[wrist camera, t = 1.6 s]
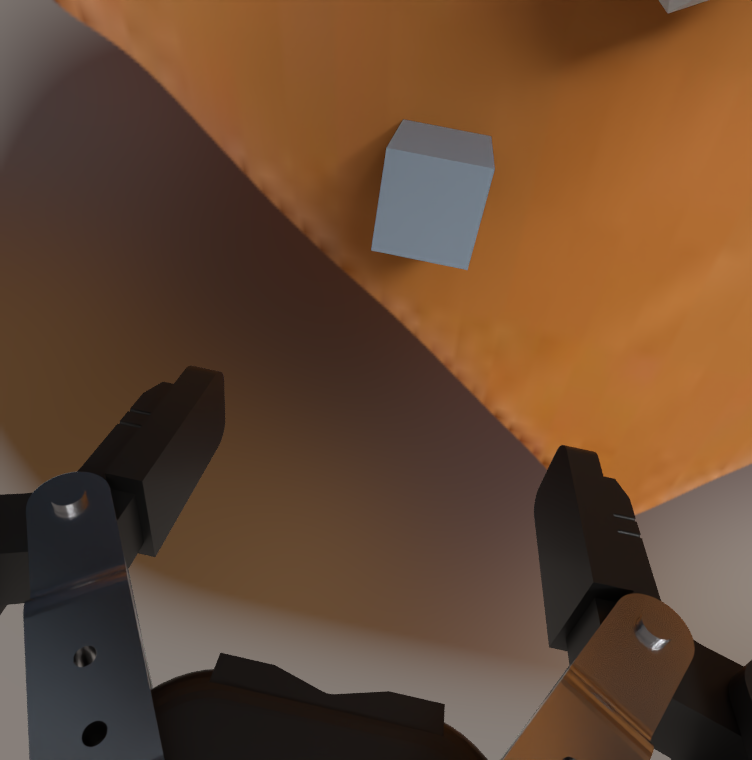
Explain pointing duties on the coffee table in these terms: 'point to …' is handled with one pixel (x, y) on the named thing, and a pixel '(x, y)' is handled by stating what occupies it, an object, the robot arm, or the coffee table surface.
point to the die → (678, 4)
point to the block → (433, 193)
